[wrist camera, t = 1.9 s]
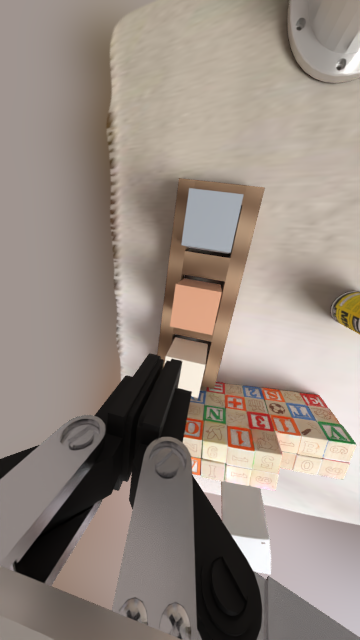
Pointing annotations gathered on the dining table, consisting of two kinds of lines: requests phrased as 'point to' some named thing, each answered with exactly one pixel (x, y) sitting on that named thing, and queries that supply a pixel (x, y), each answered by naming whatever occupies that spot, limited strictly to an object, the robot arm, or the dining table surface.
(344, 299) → the supplement bottle
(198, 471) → the stack of blocks
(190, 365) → the button cream
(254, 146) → the dining table surface
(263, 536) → the small box
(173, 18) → the dining table surface
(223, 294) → the button board
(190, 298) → the peach block
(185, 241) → the button slate
